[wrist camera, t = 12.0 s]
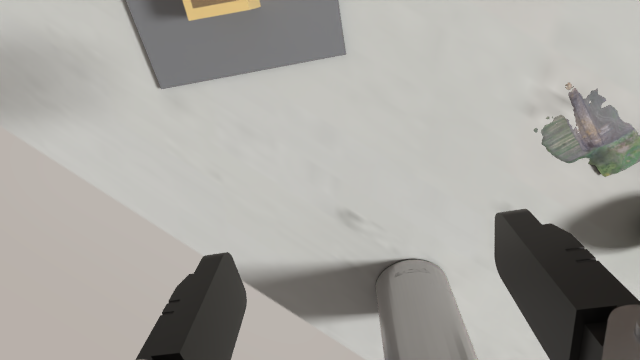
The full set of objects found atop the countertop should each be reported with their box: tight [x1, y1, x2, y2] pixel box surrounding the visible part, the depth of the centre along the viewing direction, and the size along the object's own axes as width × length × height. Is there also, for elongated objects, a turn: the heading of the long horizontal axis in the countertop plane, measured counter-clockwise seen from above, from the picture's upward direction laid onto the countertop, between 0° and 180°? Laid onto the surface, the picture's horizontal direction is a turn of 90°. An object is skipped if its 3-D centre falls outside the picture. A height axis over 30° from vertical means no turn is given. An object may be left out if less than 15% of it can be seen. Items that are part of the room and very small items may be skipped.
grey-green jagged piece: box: [534, 83, 640, 177], centre depth 34 cm, size 20×8×1 cm, turn 44°
